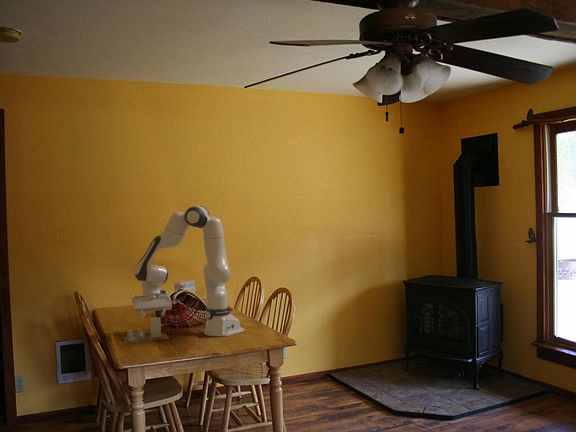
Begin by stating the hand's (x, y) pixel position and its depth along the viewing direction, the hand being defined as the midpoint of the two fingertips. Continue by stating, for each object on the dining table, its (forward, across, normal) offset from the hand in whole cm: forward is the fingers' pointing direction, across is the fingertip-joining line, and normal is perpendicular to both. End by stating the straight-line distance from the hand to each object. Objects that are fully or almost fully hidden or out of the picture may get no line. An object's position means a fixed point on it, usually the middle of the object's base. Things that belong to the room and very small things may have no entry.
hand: (154, 316), depth 288 cm
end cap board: (+11, -5, +5) cm, 13 cm away
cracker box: (-31, +28, +47) cm, 63 cm away
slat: (+10, 0, +4) cm, 11 cm away
